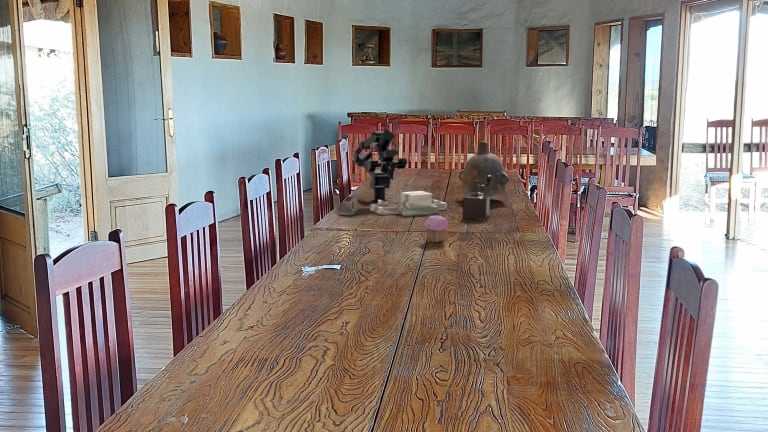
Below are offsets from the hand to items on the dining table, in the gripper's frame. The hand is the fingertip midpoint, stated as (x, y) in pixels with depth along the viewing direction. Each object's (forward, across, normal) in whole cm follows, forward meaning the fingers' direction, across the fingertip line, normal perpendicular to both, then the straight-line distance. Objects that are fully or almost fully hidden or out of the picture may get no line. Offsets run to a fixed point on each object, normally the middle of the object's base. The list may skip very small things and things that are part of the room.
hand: (392, 179), depth 364 cm
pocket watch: (+21, -28, -6) cm, 35 cm away
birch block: (+24, +3, -6) cm, 25 cm away
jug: (+11, +48, +12) cm, 51 cm away
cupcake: (+63, -13, -52) cm, 83 cm away
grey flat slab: (+19, +2, -1) cm, 19 cm away
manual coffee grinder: (+36, +26, -18) cm, 48 cm away
